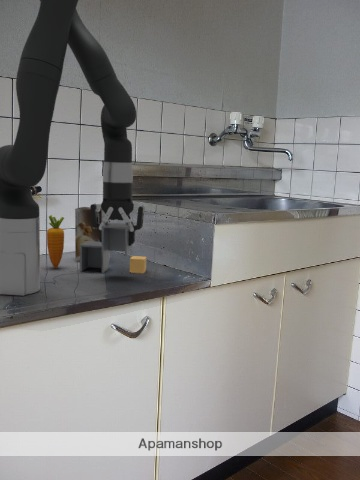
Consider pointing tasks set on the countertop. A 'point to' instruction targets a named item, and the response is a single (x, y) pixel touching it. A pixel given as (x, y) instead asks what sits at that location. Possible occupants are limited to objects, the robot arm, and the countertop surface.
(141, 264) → the cube
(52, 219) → the carrot
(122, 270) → the countertop surface
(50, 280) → the countertop surface
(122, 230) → the cube hood
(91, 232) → the coffee box
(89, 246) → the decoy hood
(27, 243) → the robot arm
